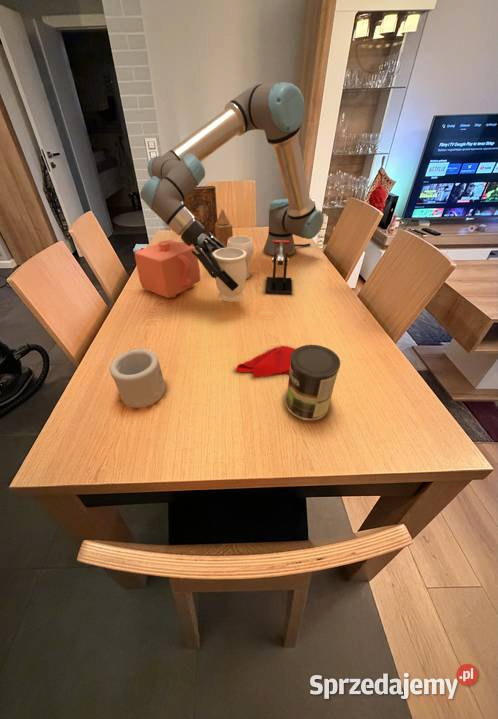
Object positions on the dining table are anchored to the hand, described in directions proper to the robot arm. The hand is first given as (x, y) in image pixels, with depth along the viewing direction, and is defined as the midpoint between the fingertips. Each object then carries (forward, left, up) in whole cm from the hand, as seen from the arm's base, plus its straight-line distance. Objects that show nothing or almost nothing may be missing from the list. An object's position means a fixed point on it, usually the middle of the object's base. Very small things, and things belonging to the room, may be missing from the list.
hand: (239, 280), depth 98 cm
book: (-22, -71, -11) cm, 75 cm away
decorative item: (-23, -50, -11) cm, 56 cm away
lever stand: (-22, -6, -11) cm, 25 cm away
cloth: (+5, +31, -11) cm, 33 cm away
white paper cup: (+2, -2, -6) cm, 7 cm away
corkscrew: (-25, -9, +1) cm, 26 cm away
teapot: (+10, -30, -11) cm, 34 cm away
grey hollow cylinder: (+41, +19, -11) cm, 47 cm away
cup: (-15, -23, -11) cm, 30 cm away
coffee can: (+10, +46, -11) cm, 48 cm away
